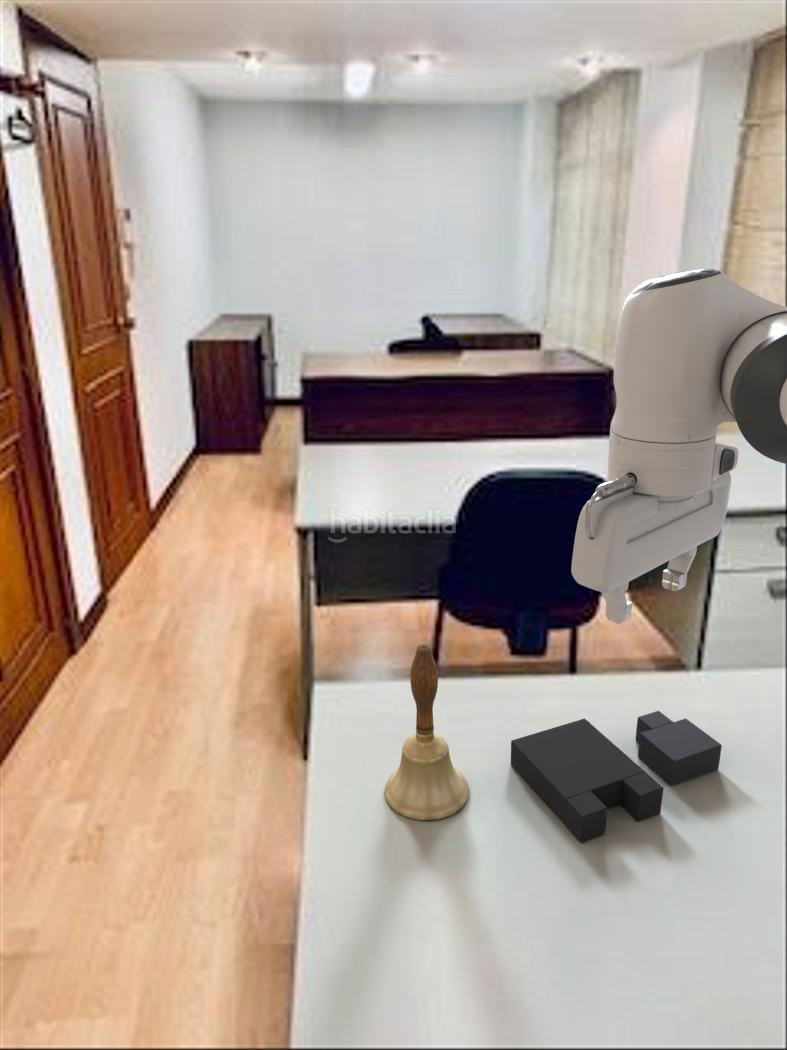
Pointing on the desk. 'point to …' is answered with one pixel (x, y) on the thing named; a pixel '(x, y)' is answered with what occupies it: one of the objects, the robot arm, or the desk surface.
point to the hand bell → (425, 756)
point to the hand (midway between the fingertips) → (646, 603)
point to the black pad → (584, 777)
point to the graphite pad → (676, 748)
